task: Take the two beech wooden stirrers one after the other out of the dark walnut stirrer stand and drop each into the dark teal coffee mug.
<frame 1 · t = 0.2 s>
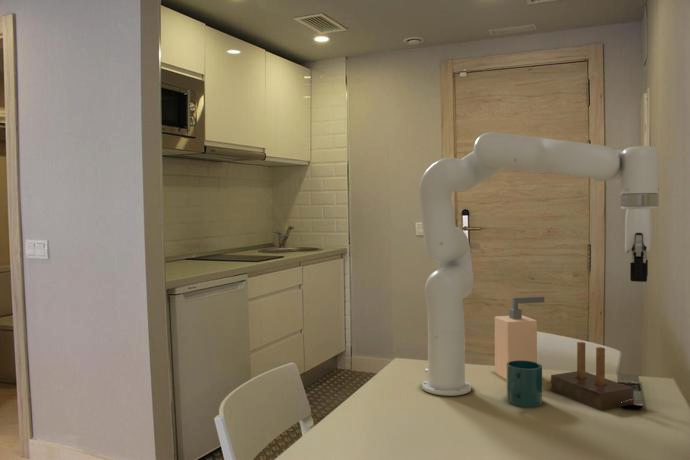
hand: (639, 278, 129), 31 cm above the table, tool pointing down, fingers open, 9 cm apart
soap dispenser: (522, 376, 162), on the table
stirrer a: (581, 393, 146), resting in stirrer stand
stirrer b: (600, 400, 140), resting in stirrer stand
stirrer stand: (590, 397, 143), on the table
mug: (524, 401, 141), on the table
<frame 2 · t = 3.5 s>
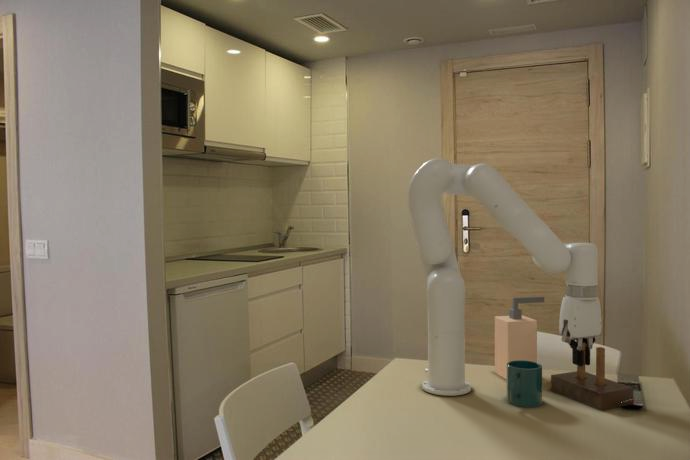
hand: (581, 364, 146), 8 cm above the table, tool pointing down, fingers closed on stirrer a, 1 cm apart
stirrer a: (581, 393, 146), resting in stirrer stand, touching gripper
everything else where it was.
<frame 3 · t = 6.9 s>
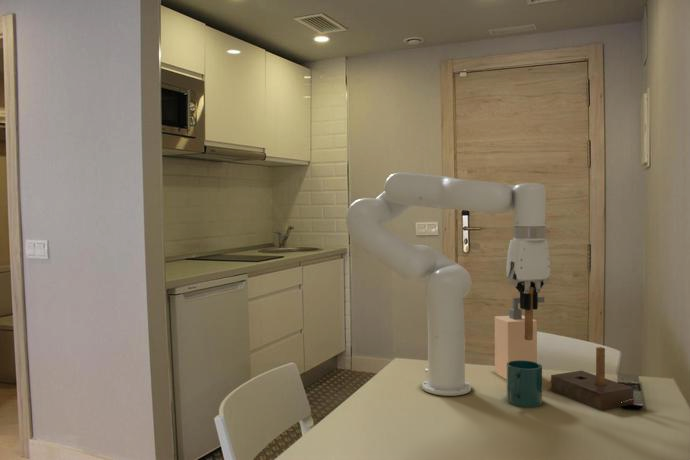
hand: (528, 308, 142), 22 cm above the table, tool pointing down, fingers closed on stirrer a, 1 cm apart
stirrer a: (528, 339, 142), point 15 cm above the table, touching gripper
everything else where it was.
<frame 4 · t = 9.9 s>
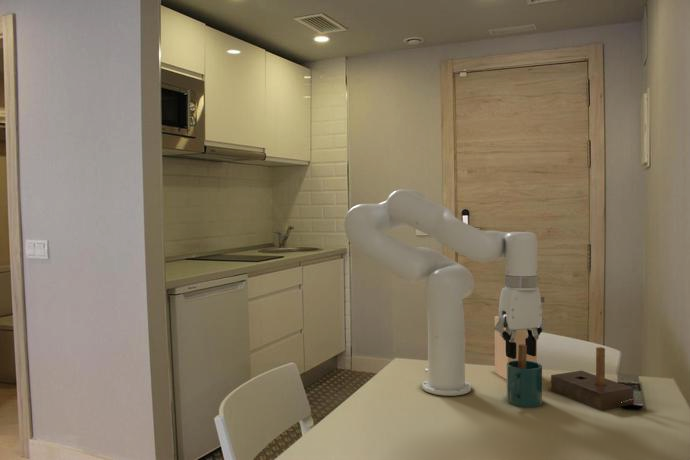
hand: (520, 355, 141), 11 cm above the table, tool pointing down, fingers open, 5 cm apart
stirrer a: (520, 397, 142), point 1 cm above the table, touching mug
mug: (524, 401, 141), on the table, touching stirrer a
everything else where it was.
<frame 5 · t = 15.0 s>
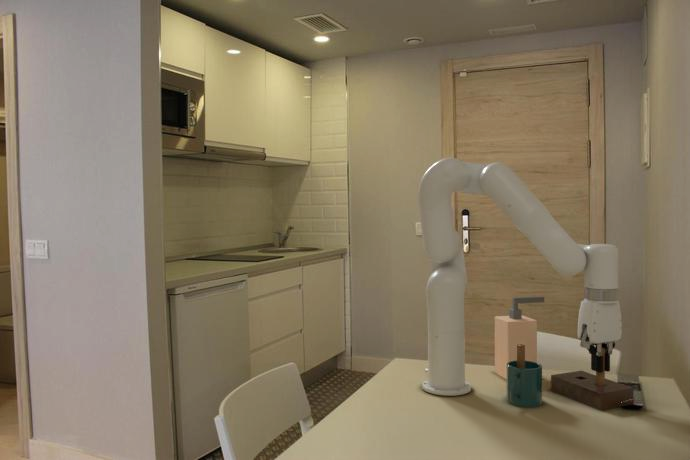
hand: (600, 370, 140), 8 cm above the table, tool pointing down, fingers closed on stirrer b, 1 cm apart
stirrer b: (600, 400, 140), resting in stirrer stand, touching gripper
everything else where it was.
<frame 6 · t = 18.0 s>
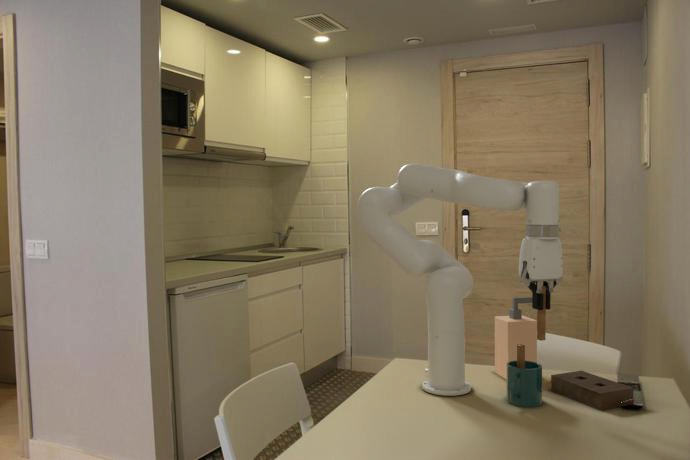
hand: (541, 308, 139), 23 cm above the table, tool pointing down, fingers closed on stirrer b, 1 cm apart
stirrer b: (541, 339, 139), point 15 cm above the table, touching gripper
everything else where it was.
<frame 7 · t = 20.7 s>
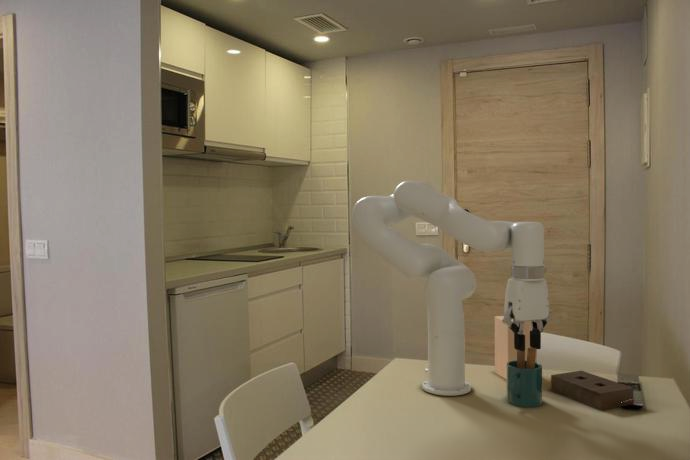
hand: (527, 348, 139), 13 cm above the table, tool pointing down, fingers open, 3 cm apart
stirrer b: (527, 400, 139), point 1 cm above the table, tilted 7°, touching mug
mug: (524, 401, 141), on the table, touching stirrer a, stirrer b
everything else where it was.
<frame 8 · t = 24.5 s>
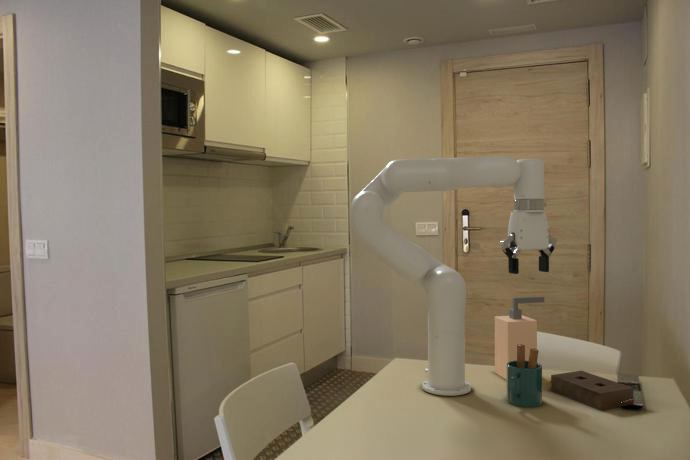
hand: (528, 272, 150), 30 cm above the table, tool pointing down, fingers open, 9 cm apart
nothing on the table moved.
at the end: stirrer a inside the target area in the mug (1.2 cm from its centre), point 0.6 cm above the mug's base; stirrer b inside the target area in the mug (1.3 cm from its centre), point 0.7 cm above the mug's base; mug tilted 0° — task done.
